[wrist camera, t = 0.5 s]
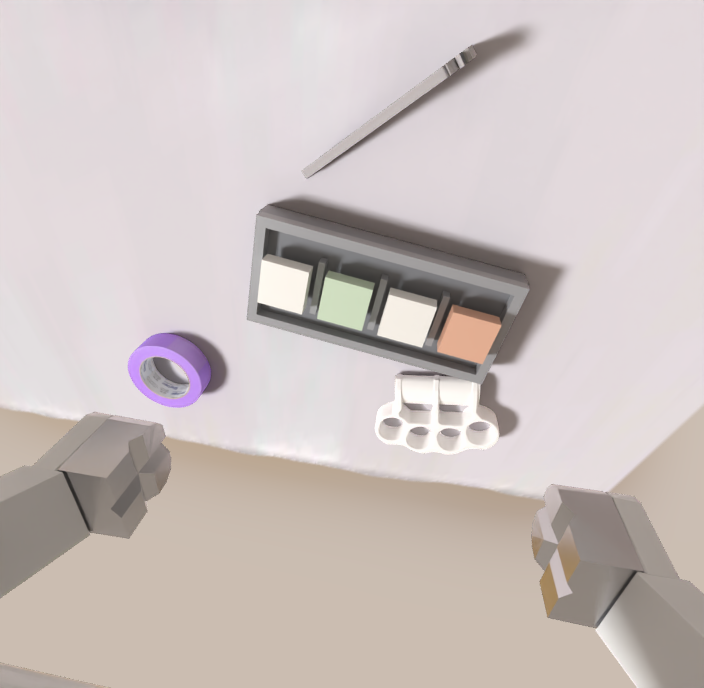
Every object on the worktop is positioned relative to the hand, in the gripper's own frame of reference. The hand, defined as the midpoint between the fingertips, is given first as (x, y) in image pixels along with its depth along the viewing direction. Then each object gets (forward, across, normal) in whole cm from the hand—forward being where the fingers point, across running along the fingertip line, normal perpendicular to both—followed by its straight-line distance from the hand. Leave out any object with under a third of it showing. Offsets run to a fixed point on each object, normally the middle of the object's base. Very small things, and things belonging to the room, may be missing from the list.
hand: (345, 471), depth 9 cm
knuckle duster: (+45, -8, +35) cm, 58 cm away
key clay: (+40, -9, +18) cm, 45 cm away
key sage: (+40, +6, +15) cm, 43 cm away
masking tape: (+45, +34, +33) cm, 65 cm away
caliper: (+45, +4, -4) cm, 45 cm away
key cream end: (+40, +13, +14) cm, 44 cm away
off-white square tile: (+40, -1, +16) cm, 43 cm away
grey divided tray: (+44, +2, +16) cm, 47 cm away
